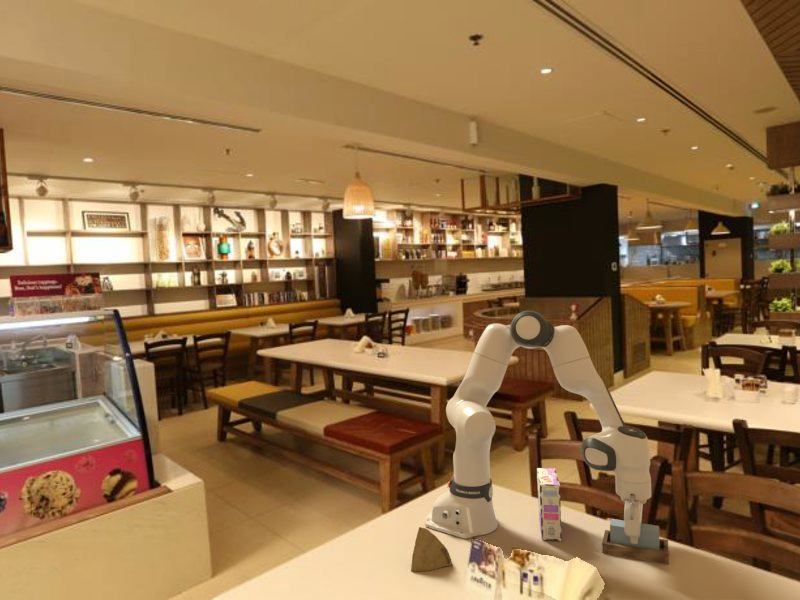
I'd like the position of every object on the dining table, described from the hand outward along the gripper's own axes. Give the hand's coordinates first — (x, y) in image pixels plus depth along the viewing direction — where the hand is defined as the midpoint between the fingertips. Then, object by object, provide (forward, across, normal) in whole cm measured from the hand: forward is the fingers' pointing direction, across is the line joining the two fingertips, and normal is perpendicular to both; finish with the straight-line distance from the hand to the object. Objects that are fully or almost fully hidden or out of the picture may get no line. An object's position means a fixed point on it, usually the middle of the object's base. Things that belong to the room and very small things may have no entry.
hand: (634, 537), depth 142 cm
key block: (+2, 0, 0) cm, 2 cm away
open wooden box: (+4, 0, 0) cm, 4 cm away
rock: (+4, -27, +48) cm, 56 cm away
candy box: (+4, +4, +23) cm, 24 cm away
